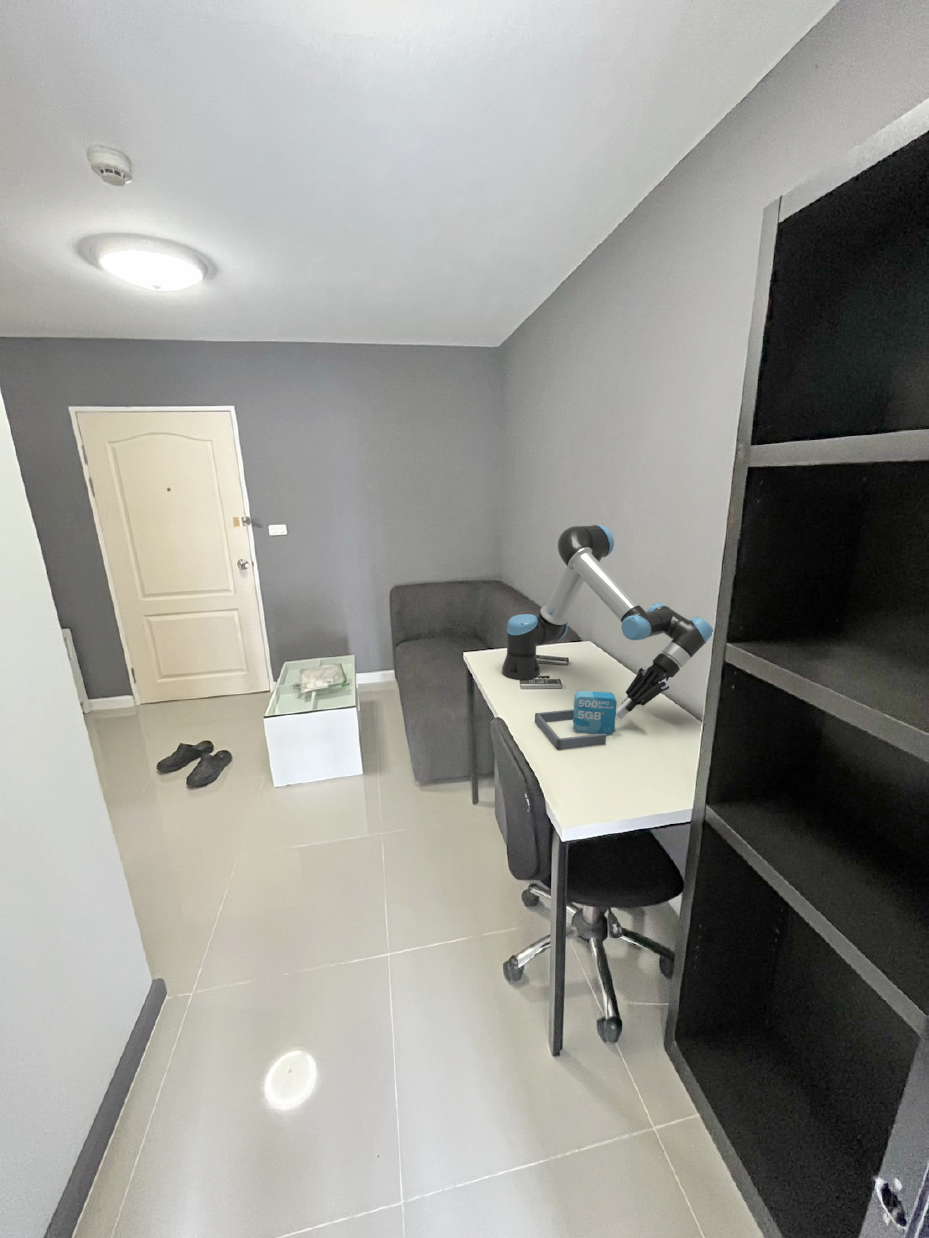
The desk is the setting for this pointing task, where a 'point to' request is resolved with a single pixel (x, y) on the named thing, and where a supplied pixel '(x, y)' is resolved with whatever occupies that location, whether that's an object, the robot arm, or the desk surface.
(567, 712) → the dock bay
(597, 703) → the data package
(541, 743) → the desk surface
